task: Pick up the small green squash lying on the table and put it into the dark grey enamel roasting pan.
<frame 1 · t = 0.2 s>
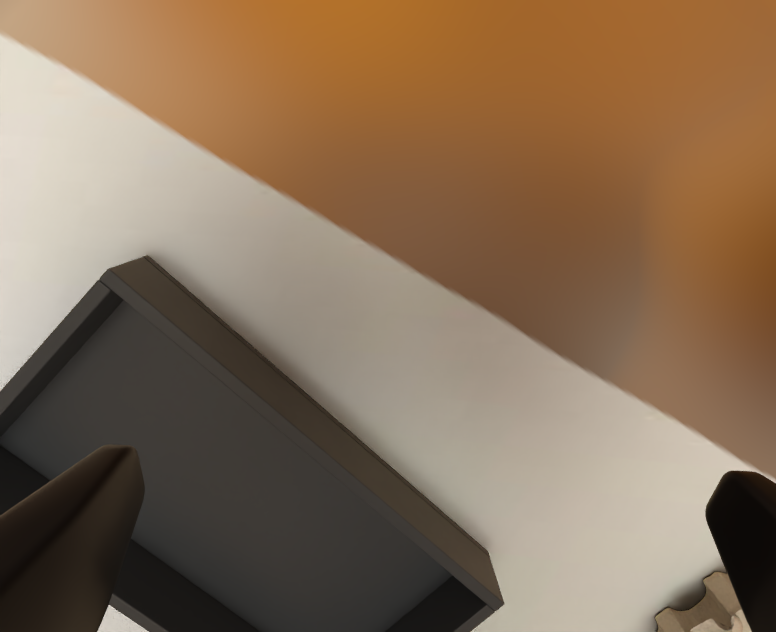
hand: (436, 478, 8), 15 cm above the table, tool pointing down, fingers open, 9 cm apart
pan: (249, 497, 25), on the table
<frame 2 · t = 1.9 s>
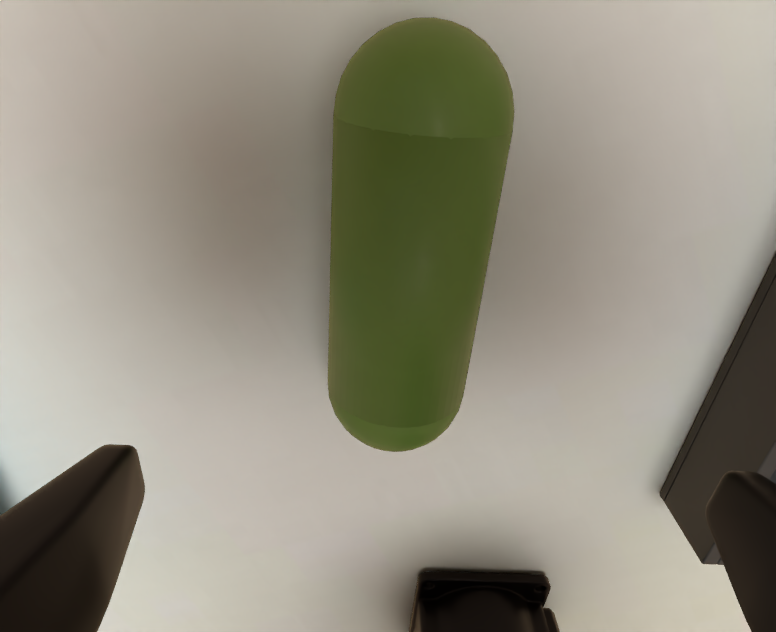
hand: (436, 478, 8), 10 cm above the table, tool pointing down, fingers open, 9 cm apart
squash: (403, 240, 16), on the table
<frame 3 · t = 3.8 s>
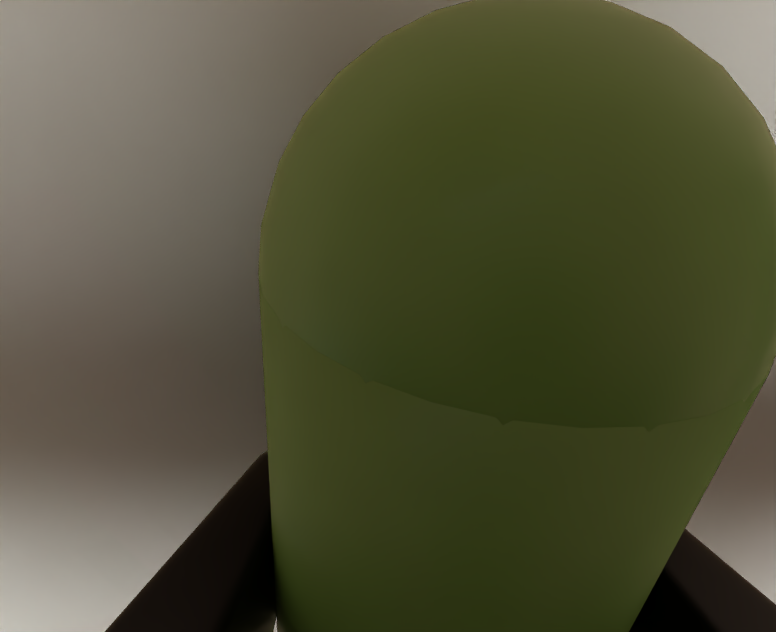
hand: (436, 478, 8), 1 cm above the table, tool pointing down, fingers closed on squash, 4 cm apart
squash: (428, 431, 9), on the table, touching gripper
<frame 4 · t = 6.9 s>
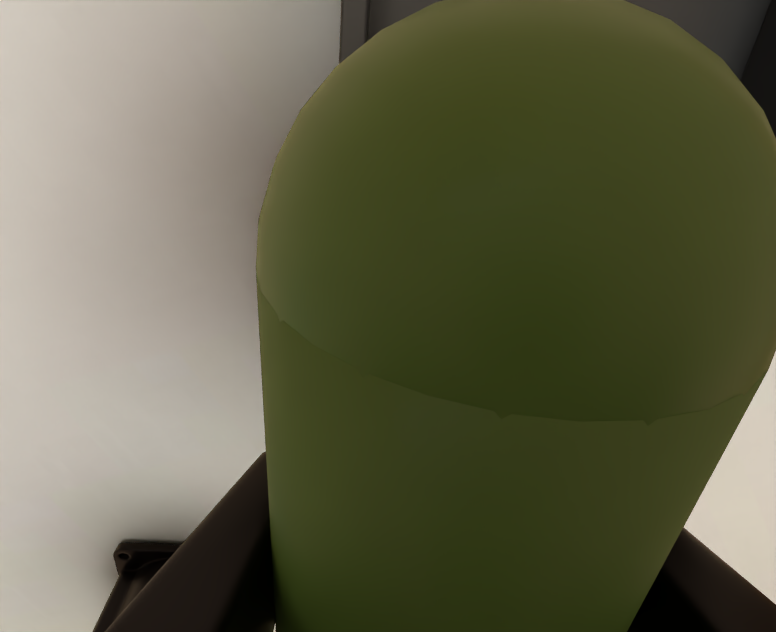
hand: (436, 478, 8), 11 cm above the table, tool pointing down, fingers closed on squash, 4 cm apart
squash: (428, 429, 9), point 10 cm above the table, touching gripper
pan: (513, 243, 18), on the table
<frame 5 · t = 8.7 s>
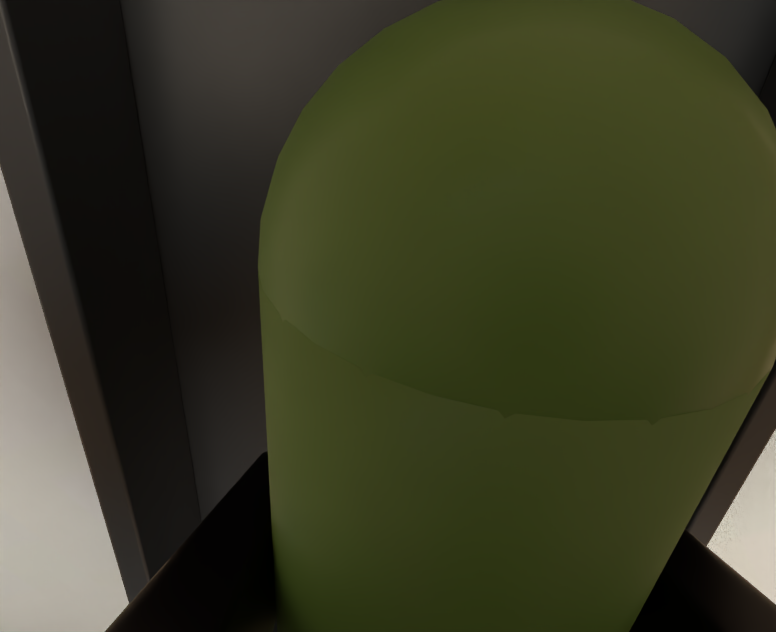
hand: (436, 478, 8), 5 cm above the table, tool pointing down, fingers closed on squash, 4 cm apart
squash: (429, 429, 9), point 4 cm above the table, touching gripper
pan: (419, 324, 12), on the table
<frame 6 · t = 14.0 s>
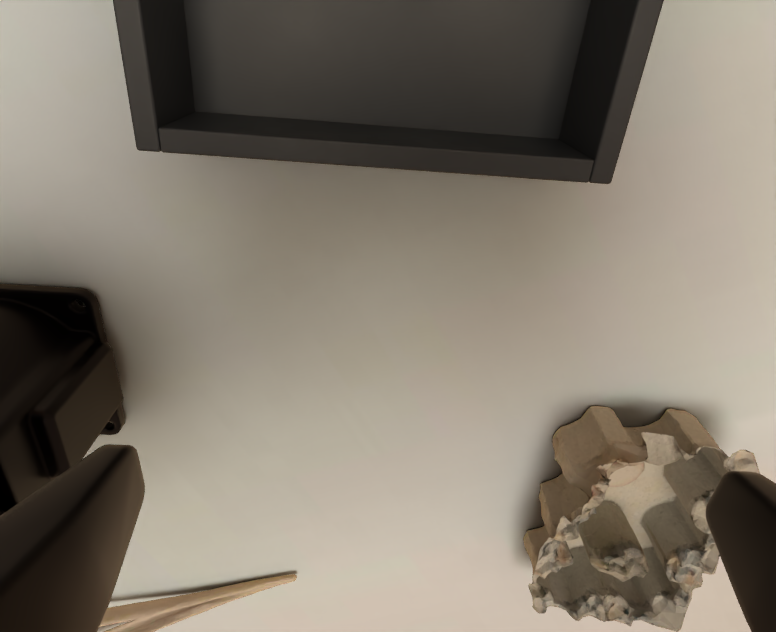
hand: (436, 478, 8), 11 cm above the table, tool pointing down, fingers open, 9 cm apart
egg carton: (608, 487, 24), on the table
animal skull: (147, 599, 27), on the table
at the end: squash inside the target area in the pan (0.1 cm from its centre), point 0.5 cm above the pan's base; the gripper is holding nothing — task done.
